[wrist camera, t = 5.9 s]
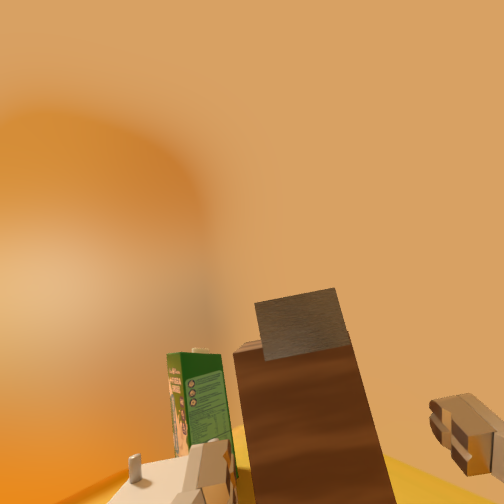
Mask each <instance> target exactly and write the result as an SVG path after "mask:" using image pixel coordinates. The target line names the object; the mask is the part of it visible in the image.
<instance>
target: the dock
mask: <svg viewBox="0 0 504 504" xmlns="http://www.w3.org/2000/svg"><path fill="white" fill-rule="evenodd" d="M213 441H219V439H218V438H214V439H211V440H209V441H208V442H213ZM188 456H189V455H187V456H182V457H177V458H172V459H167V460H162V461H157V462H152V463H147V464H142V465H141V454H135V455H132V456H131V457H129V479H128V480H127V481H126V483H125V484H124V485H123V486H122V487H121V488H120V489H119V490H118V492H117V493H116V494H115V495H114V496H113V497H112V498H111V500H110V501H109V502H108V503H107V504H170V503H171V502H172V501H173V499H174V498H175V496H176V495H177V493H180V492H182V487H183V482H184V477H185V472H186V466H187V461H188ZM234 491H235V495H236V504H238V498H237V491H236V486H235V488H234Z"/></svg>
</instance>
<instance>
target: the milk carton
mask: <svg viewBox="0 0 504 504" xmlns="http://www.w3.org/2000/svg"><path fill="white" fill-rule="evenodd" d="M167 365H168V377H169V388H170V400H171V413H172V424H173V436H174V448H175V458H177V457H182V456H187V455H189V451H190V448H191V446H192V445H196V444H202V443H207V442H208V441H209V440H211V439H214V438H218V439H219V441H220V440H226V439H230V443H231V453H232V454H234V459H235V464H236V458H235V450H234V443H233V436H232V429H231V422H230V415H229V408H228V401H227V395H226V387H225V379H224V372H223V365H222V358H221V354H209V349H207V348H192V353H187V352H178V353H168V354H167ZM236 478H238V472H237V465H236Z"/></svg>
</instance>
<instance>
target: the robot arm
mask: <svg viewBox="0 0 504 504" xmlns="http://www.w3.org/2000/svg"><path fill="white" fill-rule="evenodd" d="M429 408H430V409H431V410H432V412H433V413H432V414H431V416H430V426H431V428H432V431H433V433H434V435H435V437H436V438H437V440H438V441H439V442H440V444H441V445H442V446H444V447H446V448H447V449H449V450H451V457H452V459H453V460H454V461H455V462H456V463H457V465H458V466H459V467H460V468H461V470H462V471H463V472H464V474H465V475H466V476H467V477H468V476H474V475H481V474H487V473H491V474H492V475H493V476H494V477H496V478H497V479H499V480H500V481H502V482H503V483H504V421H503V420H501V419H500V418H499V417H498V416H497V415H496V414H495V413H493V412H492V411H491V410H490V409H489V408H488V407H486V406H485V405H484V404H483V403H482V402H481V401H480V400H478V399H477V398H476V397H475V396H474V395H472V394H470V393H466V394H460V395H456V396H449V397H444V398H440V399H435V400H431V401H430V403H429ZM235 486H236V464H235V459H234V454H232V453H231V443H230V439H226V440H220V441H213V442H207V443H202V444H196V445H192V446H191V448H190V451H189V456H188V461H187V466H186V472H185V477H184V482H183V487H182V492H180V493H177V495H176V496H175V498H174V499H173V501H172V502H171V503H170V504H236V495H235V491H234V488H235Z"/></svg>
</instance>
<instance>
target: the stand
mask: <svg viewBox="0 0 504 504" xmlns="http://www.w3.org/2000/svg"><path fill="white" fill-rule="evenodd" d="M347 333H348V331H347ZM348 337H349V333H348ZM349 340H350V337H349ZM350 344H351V345H346V346H341V347H336V348H331V349H326V350H321V351H315V352H310V353H305V354H300V355H295V356H290V357H285V358H280V359H275V360H270V361H265V358H264V353H263V347H262V342H261V340H257V341H251V342H246V343H244V344H243V345H242V346H241V347H240V348H239V349H238V350H236V351H235V352H234V353H233V357H234V363H235V370H236V376H237V383H238V389H239V396H240V403H241V409H242V416H243V422H244V429H245V435H246V442H247V448H248V454H249V461H250V467H251V474H252V480H253V487H254V493H255V500H256V504H397V503H396V500H395V496H394V493H393V489H392V486H391V482H390V478H389V475H388V471H387V468H386V464H385V461H384V457H383V454H382V450H381V447H380V443H379V439H378V436H377V432H376V429H375V425H374V422H373V418H372V415H371V411H370V407H369V404H368V401H367V397H366V393H365V390H364V386H363V382H362V379H361V375H360V372H359V368H358V365H357V361H356V358H355V354H354V350H353V347H352V343H351V340H350Z"/></svg>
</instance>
